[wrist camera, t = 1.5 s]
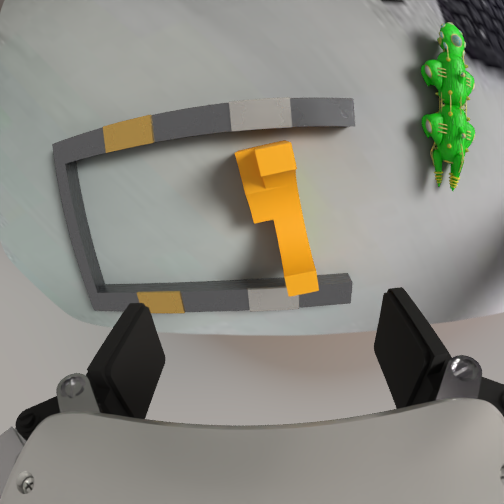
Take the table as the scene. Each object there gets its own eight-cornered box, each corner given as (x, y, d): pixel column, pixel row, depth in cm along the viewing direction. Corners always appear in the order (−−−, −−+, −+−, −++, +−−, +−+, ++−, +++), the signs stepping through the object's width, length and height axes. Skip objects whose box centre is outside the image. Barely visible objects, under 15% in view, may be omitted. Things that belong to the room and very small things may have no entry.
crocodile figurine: (459, 38, 18) (480, 31, 14) (459, 188, 25) (481, 197, 21) (411, 20, 18) (430, 8, 14) (412, 181, 26) (433, 190, 22)
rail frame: (346, 100, 23) (353, 97, 21) (346, 293, 31) (350, 304, 29) (63, 141, 25) (51, 143, 23) (101, 302, 33) (93, 311, 31)
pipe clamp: (238, 150, 25) (230, 156, 20) (284, 140, 25) (290, 142, 19) (267, 266, 30) (267, 300, 24) (308, 258, 29) (319, 290, 24)
